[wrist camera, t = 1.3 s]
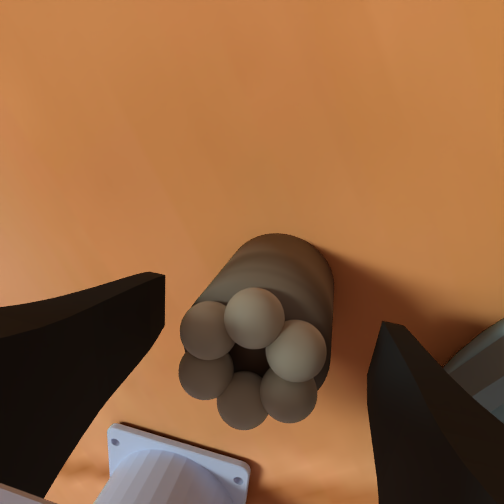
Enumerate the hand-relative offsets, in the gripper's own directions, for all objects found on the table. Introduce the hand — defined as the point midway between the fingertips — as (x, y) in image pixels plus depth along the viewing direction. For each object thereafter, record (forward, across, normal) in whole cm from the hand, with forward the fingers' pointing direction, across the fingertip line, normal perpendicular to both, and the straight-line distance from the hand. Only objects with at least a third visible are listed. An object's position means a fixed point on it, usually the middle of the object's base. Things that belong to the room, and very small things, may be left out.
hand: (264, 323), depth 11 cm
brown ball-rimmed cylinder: (+3, 0, 0) cm, 3 cm away
